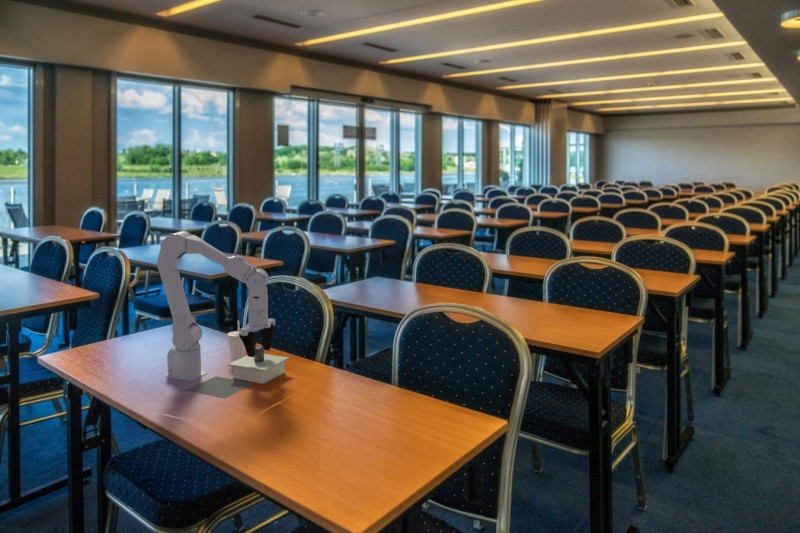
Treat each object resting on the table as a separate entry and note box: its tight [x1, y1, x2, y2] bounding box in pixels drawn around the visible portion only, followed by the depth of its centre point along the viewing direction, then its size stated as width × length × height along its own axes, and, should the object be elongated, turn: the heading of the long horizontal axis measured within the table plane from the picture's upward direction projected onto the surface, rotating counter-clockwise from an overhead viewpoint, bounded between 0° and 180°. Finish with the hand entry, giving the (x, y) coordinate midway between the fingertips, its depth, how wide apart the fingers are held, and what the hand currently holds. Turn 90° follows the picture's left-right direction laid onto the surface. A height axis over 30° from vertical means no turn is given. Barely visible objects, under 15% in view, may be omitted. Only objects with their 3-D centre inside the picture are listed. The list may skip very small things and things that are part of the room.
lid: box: [227, 346, 290, 372], centre depth 182 cm, size 13×13×5 cm
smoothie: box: [226, 320, 246, 363], centre depth 196 cm, size 6×6×14 cm
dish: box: [232, 362, 286, 385], centre depth 183 cm, size 11×11×4 cm
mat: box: [185, 375, 254, 399], centre depth 173 cm, size 14×13×1 cm
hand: (258, 353), depth 182 cm, fingers open, 7 cm apart
